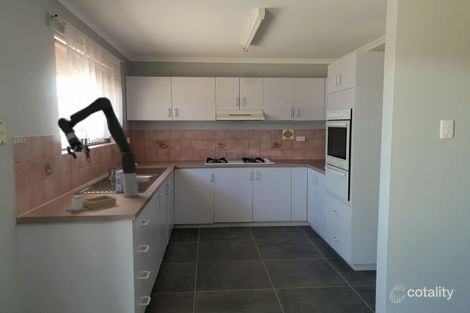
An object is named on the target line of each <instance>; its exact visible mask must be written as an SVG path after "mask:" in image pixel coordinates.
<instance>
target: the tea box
mask: <svg viewBox="0 0 470 313" xmlns="http://www.w3.org/2000/svg"><path fill="white" fill-rule="evenodd" d="M70 198H71V208H72V209H73V210H80V209H83V202H82V200H83V196H81V195H73V196H71V197H70Z"/></svg>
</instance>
